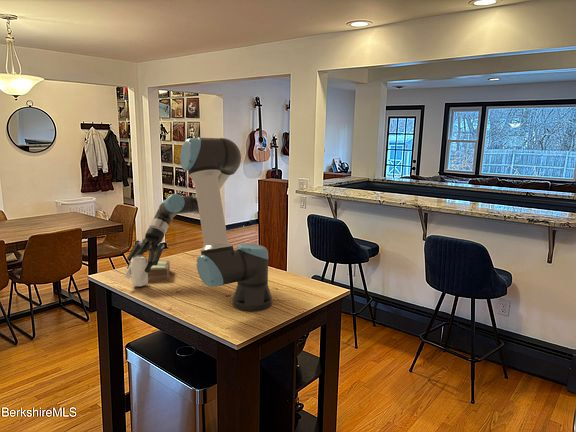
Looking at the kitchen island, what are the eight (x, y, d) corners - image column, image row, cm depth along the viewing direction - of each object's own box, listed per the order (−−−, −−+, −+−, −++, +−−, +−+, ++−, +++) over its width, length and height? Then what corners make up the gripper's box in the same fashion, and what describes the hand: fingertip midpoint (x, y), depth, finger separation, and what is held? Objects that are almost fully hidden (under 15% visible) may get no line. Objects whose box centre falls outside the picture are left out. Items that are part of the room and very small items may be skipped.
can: (141, 287, 172) (140, 259, 169) (128, 285, 174) (127, 257, 171) (151, 282, 178) (150, 255, 175) (138, 280, 180) (137, 254, 178)
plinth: (167, 279, 185) (166, 268, 184) (141, 280, 182) (140, 269, 182) (169, 270, 197) (169, 259, 196) (145, 271, 195) (145, 260, 194)
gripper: (179, 237, 184) (158, 284, 171) (142, 234, 190) (119, 279, 178) (171, 228, 178) (149, 276, 166) (134, 224, 184) (109, 270, 172)
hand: (134, 277), depth 172 cm, fingers closed on can, 6 cm apart
